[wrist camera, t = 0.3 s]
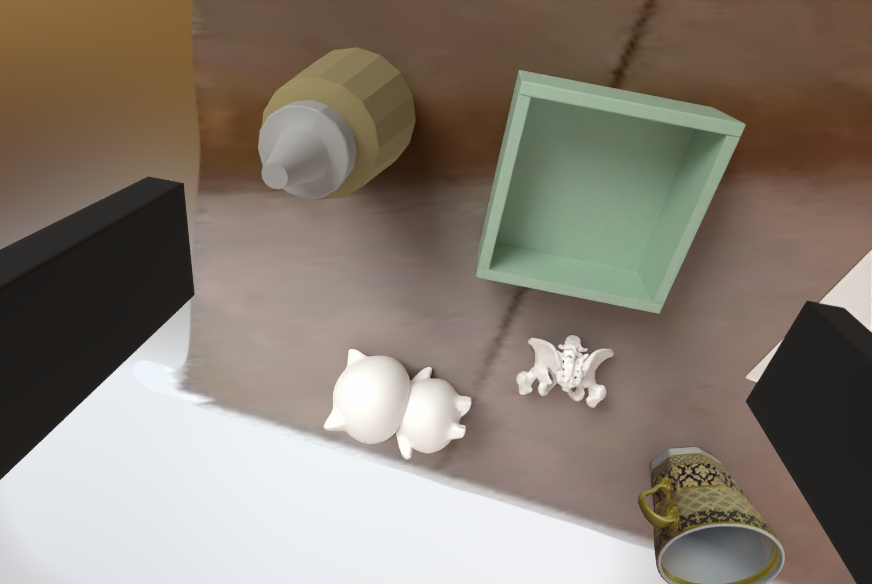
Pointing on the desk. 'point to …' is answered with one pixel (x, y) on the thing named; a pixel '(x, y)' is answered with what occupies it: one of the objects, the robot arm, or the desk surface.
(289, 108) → the squeeze bottle
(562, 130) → the bin
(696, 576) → the ceramic cup
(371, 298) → the desk surface
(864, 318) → the teacup and saucer
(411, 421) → the cat figurine
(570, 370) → the anatomical pelvis
